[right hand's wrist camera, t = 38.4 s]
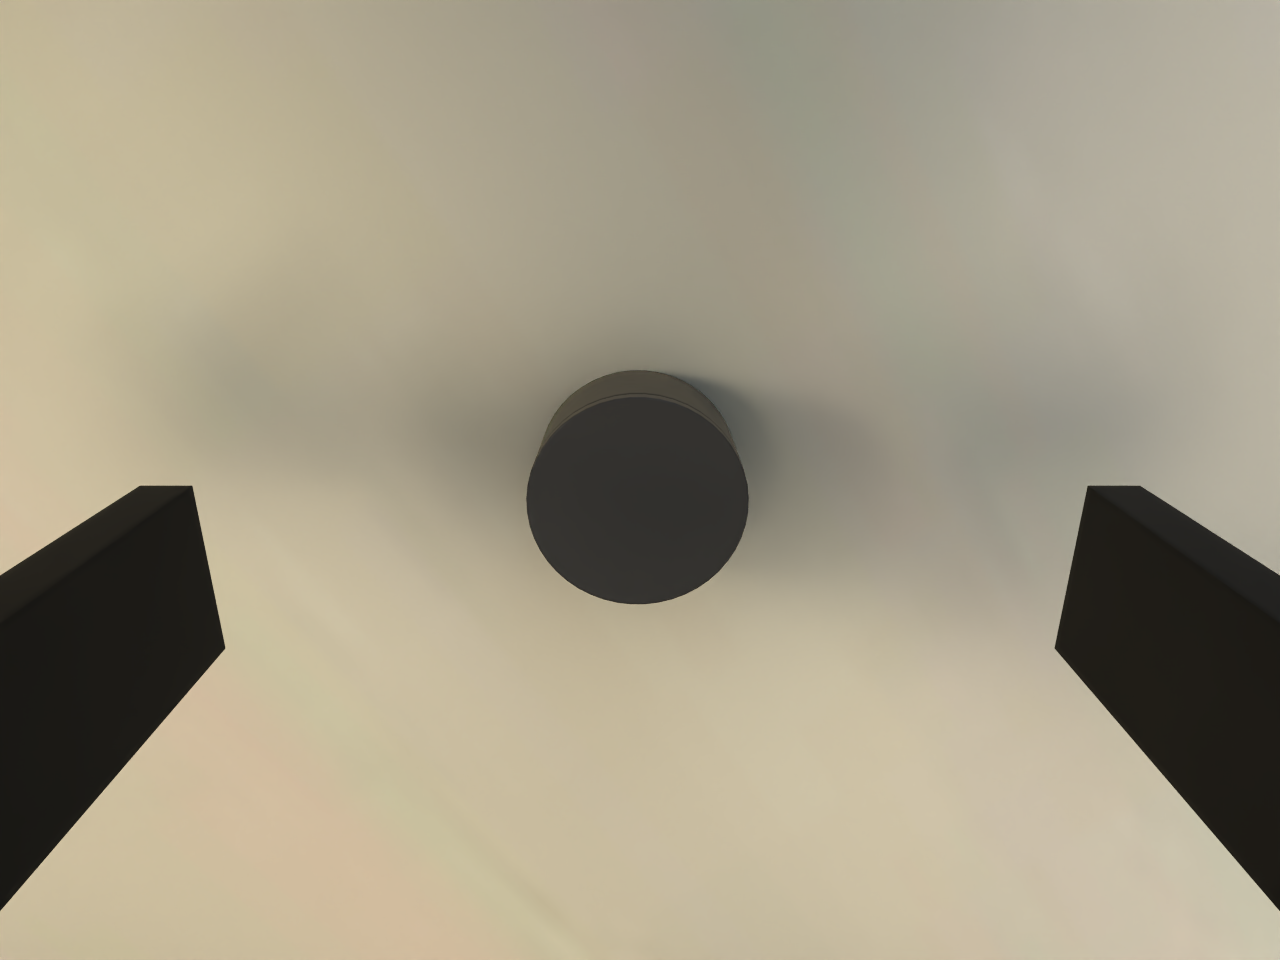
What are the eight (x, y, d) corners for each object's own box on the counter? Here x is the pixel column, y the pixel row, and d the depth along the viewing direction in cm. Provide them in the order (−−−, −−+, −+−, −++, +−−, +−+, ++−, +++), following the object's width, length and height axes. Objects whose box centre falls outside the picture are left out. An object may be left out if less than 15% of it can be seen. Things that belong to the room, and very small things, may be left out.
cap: (774, 474, 19) (794, 514, 16) (629, 589, 20) (628, 643, 17) (647, 327, 18) (647, 349, 15) (499, 457, 19) (479, 496, 16)
